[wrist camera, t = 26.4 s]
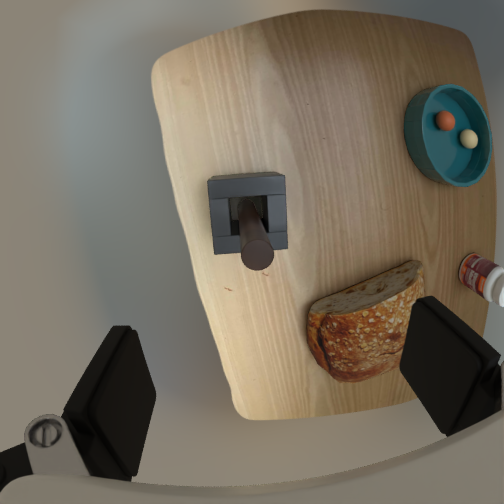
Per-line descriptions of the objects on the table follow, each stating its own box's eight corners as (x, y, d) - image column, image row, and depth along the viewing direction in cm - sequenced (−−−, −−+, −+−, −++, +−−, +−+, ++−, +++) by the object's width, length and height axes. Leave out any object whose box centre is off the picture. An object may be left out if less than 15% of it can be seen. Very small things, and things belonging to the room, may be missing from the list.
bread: (415, 254, 43) (452, 277, 33) (415, 342, 48) (442, 374, 39) (294, 291, 43) (310, 328, 34) (314, 379, 49) (327, 420, 39)
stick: (236, 199, 39) (239, 241, 20) (253, 197, 39) (272, 237, 20) (238, 216, 39) (243, 272, 20) (255, 214, 39) (275, 268, 20)
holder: (212, 176, 38) (207, 180, 30) (274, 171, 38) (285, 175, 30) (218, 236, 40) (214, 254, 32) (277, 231, 40) (287, 249, 33)
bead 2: (461, 149, 35) (455, 129, 35) (465, 151, 37) (459, 133, 37) (478, 145, 33) (472, 125, 33) (481, 147, 35) (475, 129, 35)
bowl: (399, 81, 34) (417, 75, 30) (469, 97, 35) (488, 95, 30) (405, 181, 39) (423, 185, 34) (472, 184, 40) (492, 188, 35)
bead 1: (429, 115, 36) (443, 109, 35) (438, 134, 36) (452, 128, 36) (437, 112, 33) (452, 106, 32) (447, 133, 33) (461, 126, 33)
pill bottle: (455, 264, 44) (495, 289, 33) (476, 246, 43) (517, 267, 32) (461, 290, 46) (498, 317, 35) (481, 271, 45) (519, 295, 34)
